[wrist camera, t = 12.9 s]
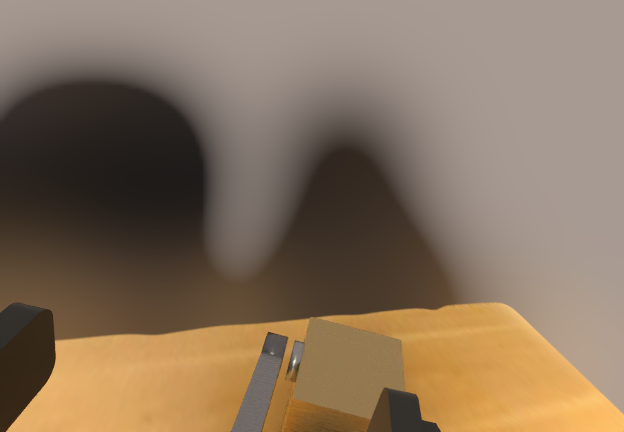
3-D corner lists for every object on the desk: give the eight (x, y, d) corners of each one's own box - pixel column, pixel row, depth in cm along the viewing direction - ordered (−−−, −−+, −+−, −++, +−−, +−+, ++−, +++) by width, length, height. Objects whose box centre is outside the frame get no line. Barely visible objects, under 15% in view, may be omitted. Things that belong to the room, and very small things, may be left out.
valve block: (225, 614, 31) (260, 475, 24) (284, 385, 50) (312, 272, 43) (348, 649, 30) (417, 518, 24) (359, 405, 50) (399, 294, 43)
